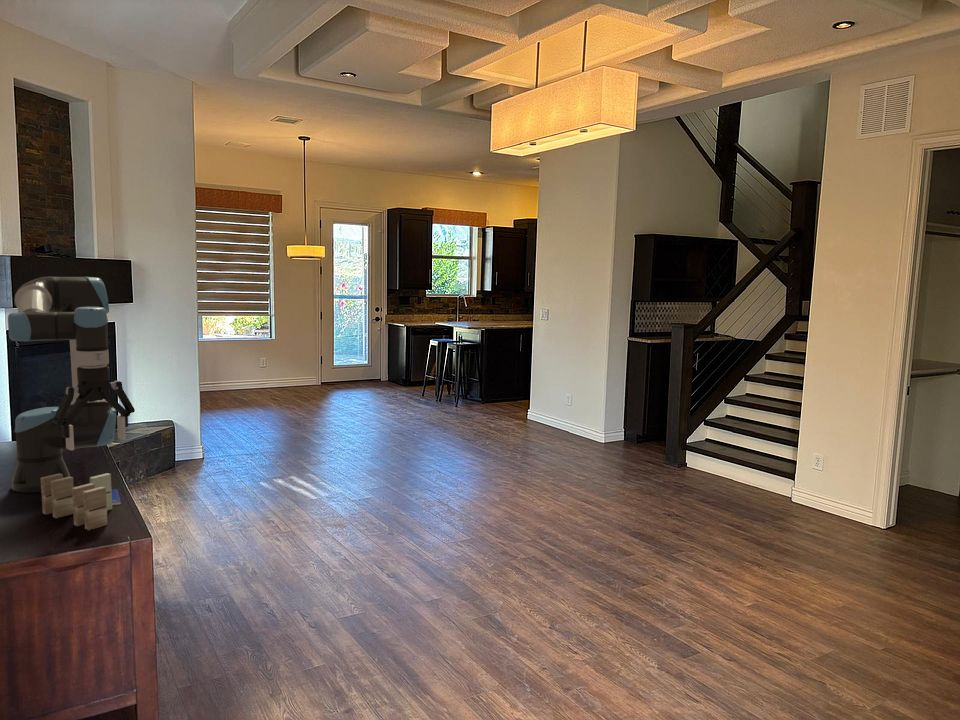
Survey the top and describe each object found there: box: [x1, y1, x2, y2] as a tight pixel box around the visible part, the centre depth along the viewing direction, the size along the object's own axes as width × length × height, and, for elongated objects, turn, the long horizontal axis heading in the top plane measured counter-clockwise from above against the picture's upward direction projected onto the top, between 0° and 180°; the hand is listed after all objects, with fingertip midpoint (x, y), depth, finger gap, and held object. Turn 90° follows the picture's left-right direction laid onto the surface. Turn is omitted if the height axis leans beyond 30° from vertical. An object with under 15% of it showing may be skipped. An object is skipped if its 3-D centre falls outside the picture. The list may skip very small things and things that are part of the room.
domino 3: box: [72, 482, 95, 527], centre depth 184 cm, size 2×5×10 cm, turn 149°
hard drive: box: [111, 488, 122, 506], centre depth 202 cm, size 2×8×12 cm
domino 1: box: [40, 473, 63, 515], centre depth 191 cm, size 2×5×10 cm, turn 149°
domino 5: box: [83, 487, 108, 531], centre depth 181 cm, size 2×5×10 cm, turn 149°
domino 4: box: [89, 472, 113, 511], centre depth 193 cm, size 2×5×10 cm, turn 149°
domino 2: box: [51, 476, 75, 519], centre depth 189 cm, size 2×5×10 cm, turn 149°
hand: (96, 444), depth 188 cm, fingers open, 13 cm apart
